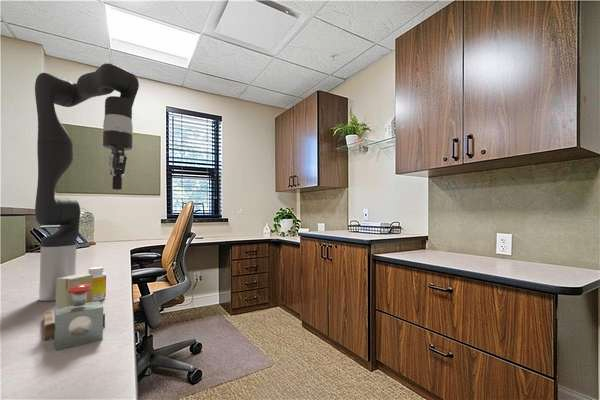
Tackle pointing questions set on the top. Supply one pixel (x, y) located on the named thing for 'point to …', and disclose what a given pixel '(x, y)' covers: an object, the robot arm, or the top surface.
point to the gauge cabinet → (78, 325)
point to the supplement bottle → (98, 283)
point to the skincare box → (63, 283)
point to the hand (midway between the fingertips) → (116, 189)
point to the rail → (50, 325)
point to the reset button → (79, 293)
